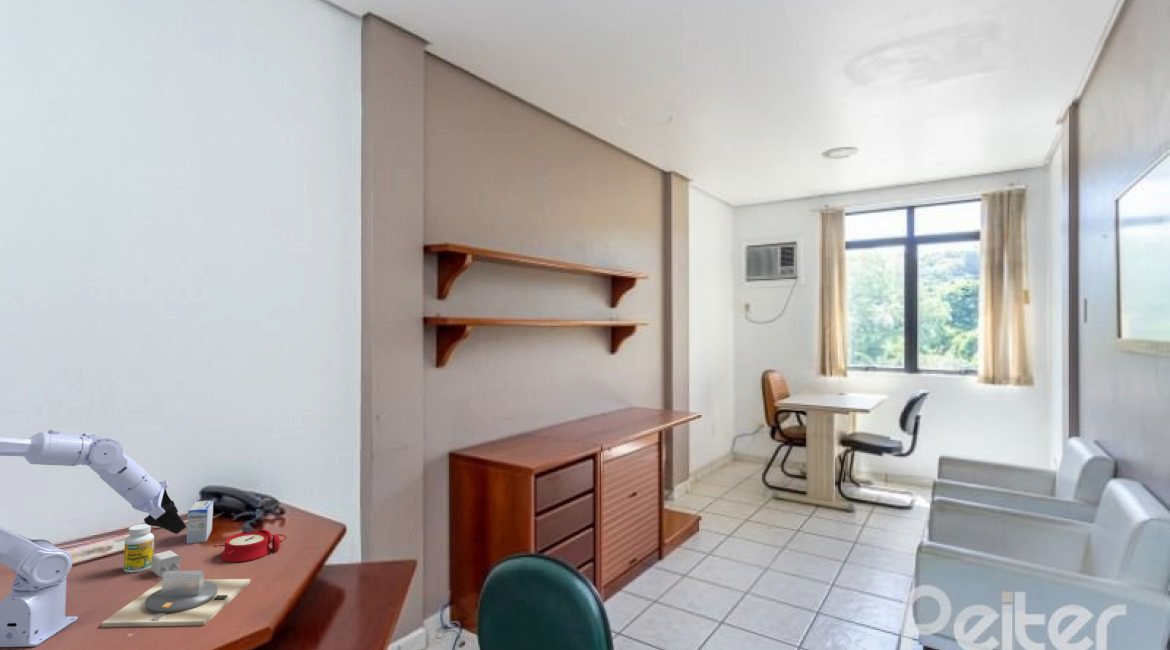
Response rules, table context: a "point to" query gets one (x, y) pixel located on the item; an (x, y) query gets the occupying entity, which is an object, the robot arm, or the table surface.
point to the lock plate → (198, 615)
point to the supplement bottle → (138, 549)
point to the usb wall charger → (165, 562)
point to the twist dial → (181, 592)
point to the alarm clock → (249, 546)
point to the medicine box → (199, 521)
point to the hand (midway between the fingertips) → (177, 522)
